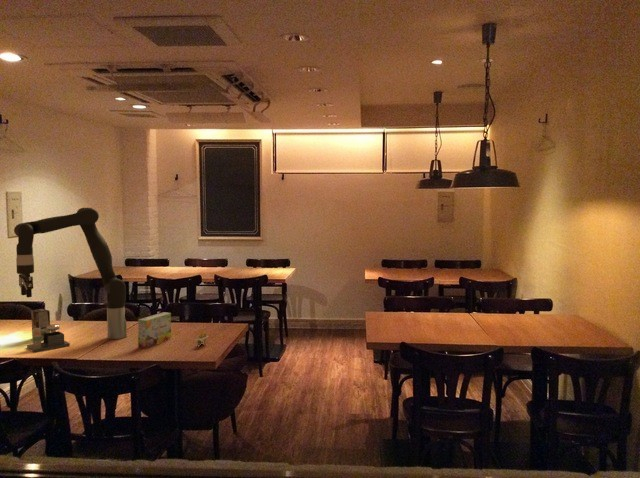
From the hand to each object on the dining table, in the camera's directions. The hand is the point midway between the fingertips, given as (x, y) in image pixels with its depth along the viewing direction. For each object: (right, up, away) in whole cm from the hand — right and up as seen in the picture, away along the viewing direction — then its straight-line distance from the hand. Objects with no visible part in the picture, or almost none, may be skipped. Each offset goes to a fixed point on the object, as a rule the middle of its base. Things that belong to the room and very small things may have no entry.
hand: (26, 296), depth 256 cm
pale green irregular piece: (+83, -29, +18) cm, 90 cm away
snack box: (+57, -28, +22) cm, 67 cm away
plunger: (+3, -21, +14) cm, 25 cm away
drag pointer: (0, -21, +10) cm, 23 cm away
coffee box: (-9, -27, +30) cm, 42 cm away
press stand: (+4, -28, +14) cm, 32 cm away
